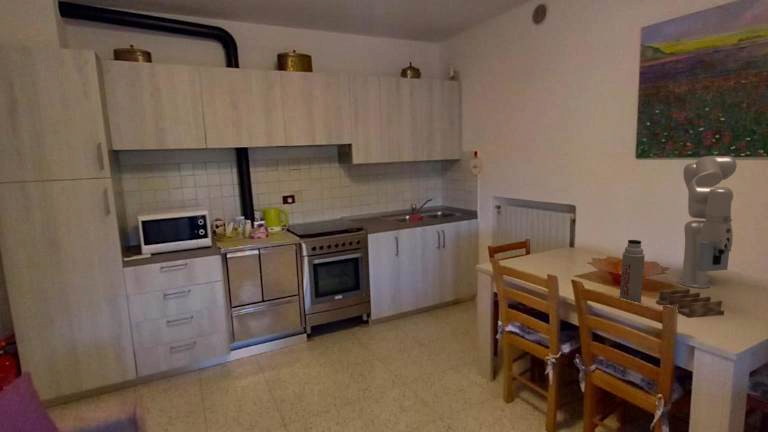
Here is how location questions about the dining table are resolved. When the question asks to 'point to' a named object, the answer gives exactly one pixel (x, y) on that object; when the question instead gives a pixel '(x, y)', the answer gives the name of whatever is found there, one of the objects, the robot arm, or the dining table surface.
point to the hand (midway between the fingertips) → (712, 263)
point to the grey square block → (710, 258)
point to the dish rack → (690, 303)
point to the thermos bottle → (632, 272)
